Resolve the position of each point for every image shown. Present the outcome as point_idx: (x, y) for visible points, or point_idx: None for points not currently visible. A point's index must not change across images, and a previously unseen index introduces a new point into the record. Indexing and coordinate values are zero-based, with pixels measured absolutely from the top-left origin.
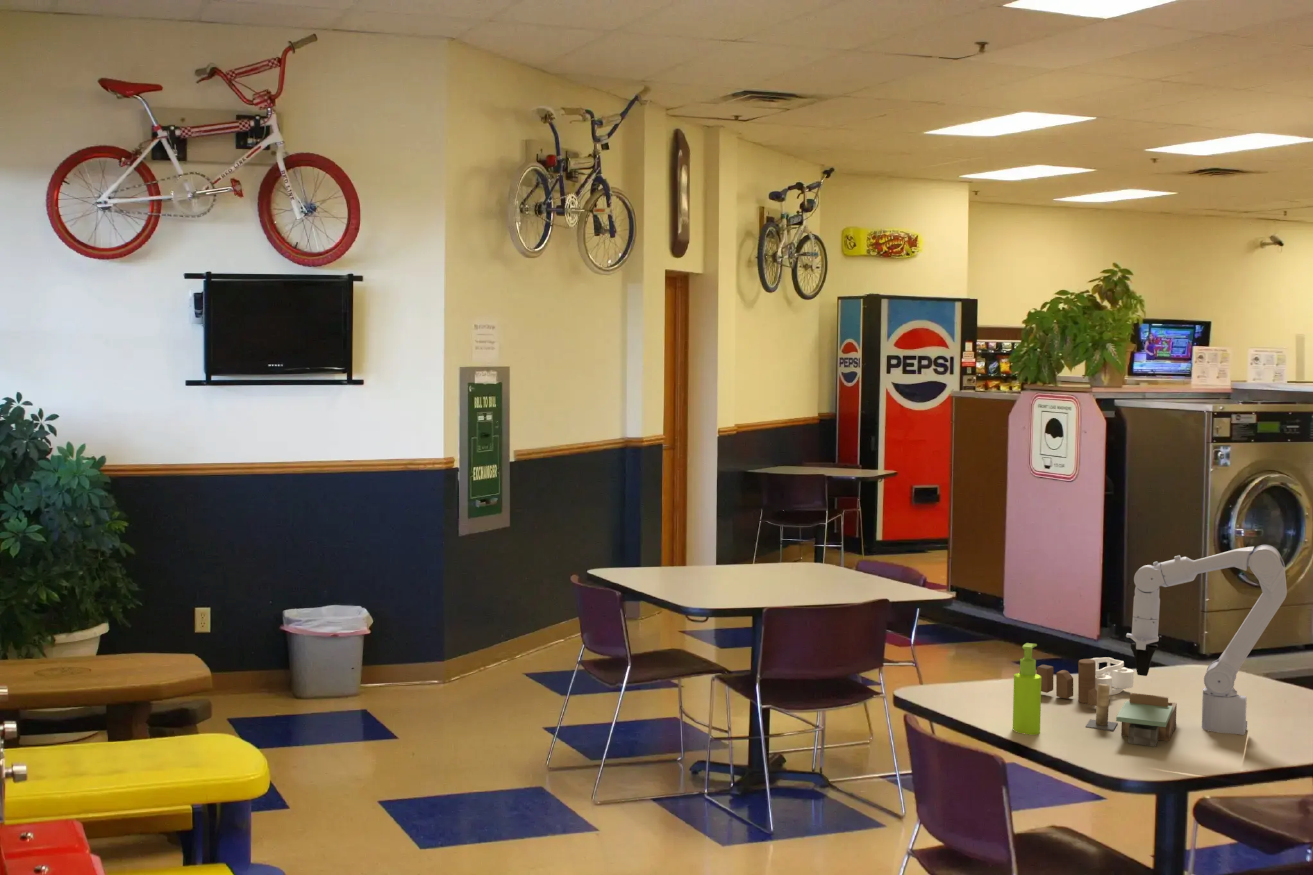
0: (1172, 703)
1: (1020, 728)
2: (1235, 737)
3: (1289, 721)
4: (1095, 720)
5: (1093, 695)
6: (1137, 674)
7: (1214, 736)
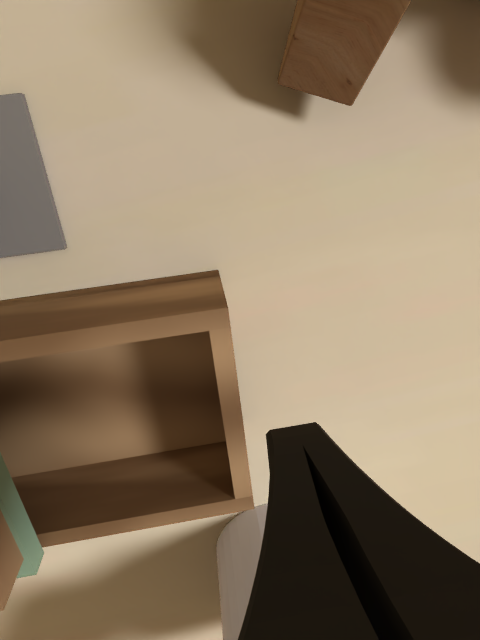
0: (229, 499)
1: None
2: (182, 599)
3: None
4: (17, 130)
5: (318, 11)
6: (271, 431)
7: (150, 561)
